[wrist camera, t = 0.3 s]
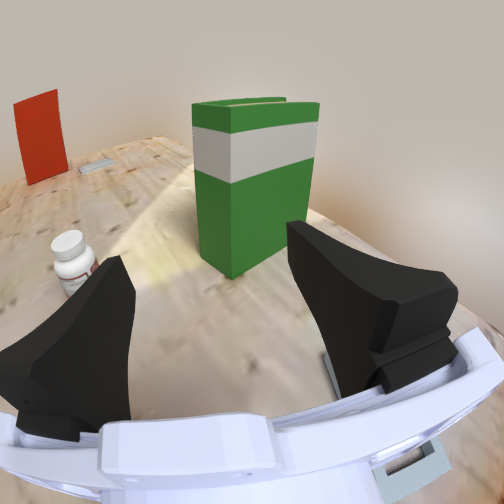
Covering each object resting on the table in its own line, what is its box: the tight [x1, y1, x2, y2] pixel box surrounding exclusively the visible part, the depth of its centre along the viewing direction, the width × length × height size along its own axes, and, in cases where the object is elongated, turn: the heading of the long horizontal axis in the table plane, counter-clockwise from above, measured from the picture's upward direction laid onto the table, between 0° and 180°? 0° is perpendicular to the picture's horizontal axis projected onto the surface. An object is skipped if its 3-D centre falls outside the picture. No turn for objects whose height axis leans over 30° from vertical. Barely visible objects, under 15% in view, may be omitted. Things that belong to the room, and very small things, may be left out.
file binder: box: [13, 89, 68, 185], centre depth 73 cm, size 8×17×32 cm, turn 126°
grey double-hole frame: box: [324, 352, 451, 504], centre depth 23 cm, size 19×8×2 cm, turn 10°
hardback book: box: [192, 97, 320, 280], centre depth 41 cm, size 18×7×24 cm, turn 135°
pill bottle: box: [51, 230, 99, 299], centre depth 32 cm, size 6×6×11 cm
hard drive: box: [78, 158, 115, 175], centre depth 84 cm, size 2×8×12 cm
